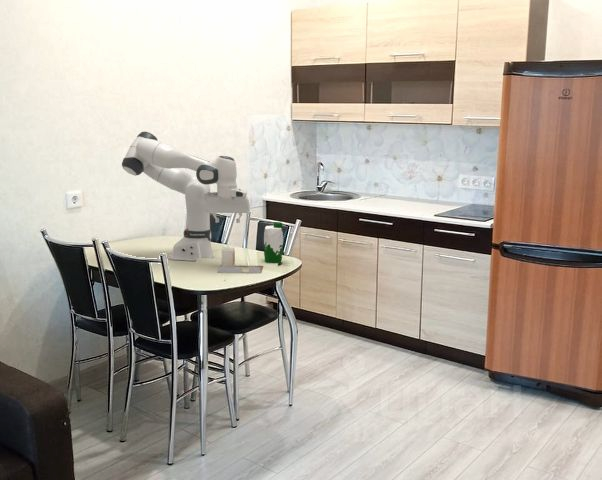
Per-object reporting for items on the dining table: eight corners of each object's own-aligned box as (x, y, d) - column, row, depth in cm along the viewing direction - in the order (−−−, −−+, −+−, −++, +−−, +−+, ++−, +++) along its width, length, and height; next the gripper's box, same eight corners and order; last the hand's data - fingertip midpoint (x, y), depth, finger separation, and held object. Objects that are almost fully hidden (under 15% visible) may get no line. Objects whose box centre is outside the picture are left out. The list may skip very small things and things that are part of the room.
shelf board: (216, 275, 285) (216, 272, 284) (221, 267, 298) (221, 265, 298) (261, 275, 284) (261, 273, 284) (263, 268, 298) (263, 265, 298)
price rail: (217, 272, 284) (217, 267, 284) (218, 272, 285) (218, 266, 285) (260, 273, 284) (260, 267, 283) (260, 272, 285) (260, 267, 284)
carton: (233, 269, 290) (233, 250, 288) (221, 269, 290) (221, 250, 288) (235, 266, 297) (234, 247, 295) (223, 266, 297) (223, 247, 295)
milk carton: (282, 265, 303) (282, 224, 299) (263, 265, 304) (263, 224, 300) (283, 261, 312) (283, 221, 308) (264, 261, 312) (264, 221, 308)
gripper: (202, 193, 283) (203, 223, 286) (248, 193, 283) (249, 223, 286) (205, 191, 290) (206, 221, 292) (250, 191, 289) (250, 221, 292)
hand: (227, 222), depth 289 cm, fingers open, 8 cm apart
